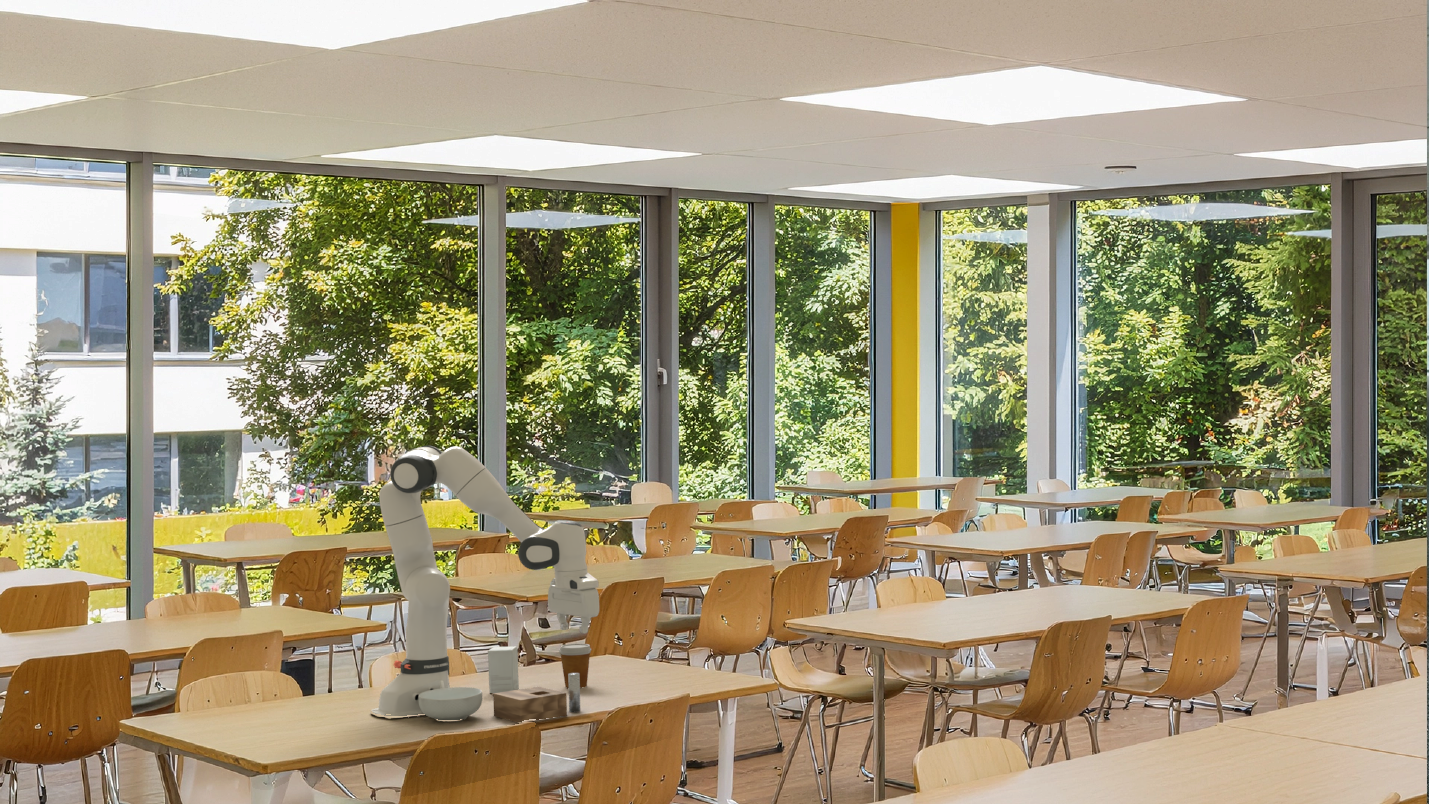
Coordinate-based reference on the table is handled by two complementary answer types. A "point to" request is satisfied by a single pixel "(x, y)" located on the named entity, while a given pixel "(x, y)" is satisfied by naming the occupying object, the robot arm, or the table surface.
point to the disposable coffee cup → (575, 661)
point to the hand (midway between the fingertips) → (574, 631)
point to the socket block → (530, 704)
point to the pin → (574, 692)
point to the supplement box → (503, 669)
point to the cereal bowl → (450, 702)
